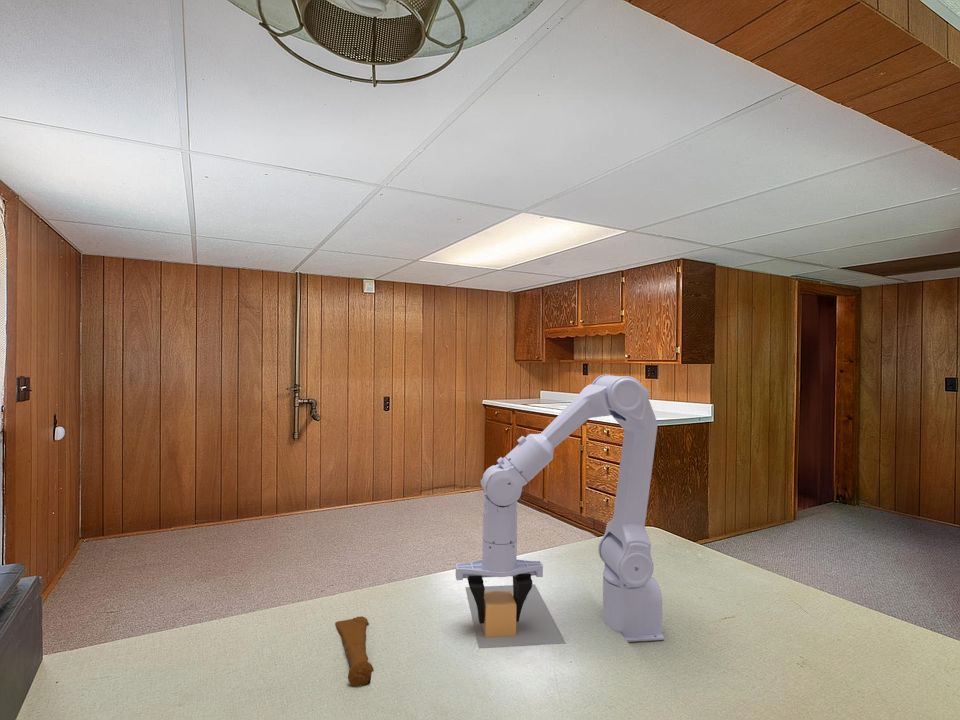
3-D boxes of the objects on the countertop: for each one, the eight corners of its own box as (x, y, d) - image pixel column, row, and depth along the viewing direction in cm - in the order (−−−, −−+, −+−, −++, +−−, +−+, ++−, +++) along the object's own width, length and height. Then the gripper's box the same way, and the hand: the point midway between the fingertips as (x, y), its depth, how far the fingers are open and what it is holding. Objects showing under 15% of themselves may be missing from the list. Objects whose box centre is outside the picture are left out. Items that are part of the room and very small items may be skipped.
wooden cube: (510, 619, 87) (510, 590, 87) (515, 635, 82) (516, 604, 82) (481, 621, 87) (482, 591, 87) (485, 637, 82) (486, 606, 82)
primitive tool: (334, 624, 89) (335, 604, 89) (366, 619, 91) (366, 599, 91) (348, 692, 71) (348, 667, 71) (387, 684, 73) (387, 660, 73)
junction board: (534, 591, 101) (535, 569, 101) (565, 652, 80) (566, 624, 80) (465, 594, 100) (465, 572, 99) (478, 657, 79) (479, 628, 79)
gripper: (536, 529, 89) (535, 605, 90) (454, 531, 88) (453, 609, 88) (546, 543, 82) (545, 626, 83) (458, 546, 81) (456, 631, 81)
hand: (498, 619), depth 85 cm, fingers open, 5 cm apart
